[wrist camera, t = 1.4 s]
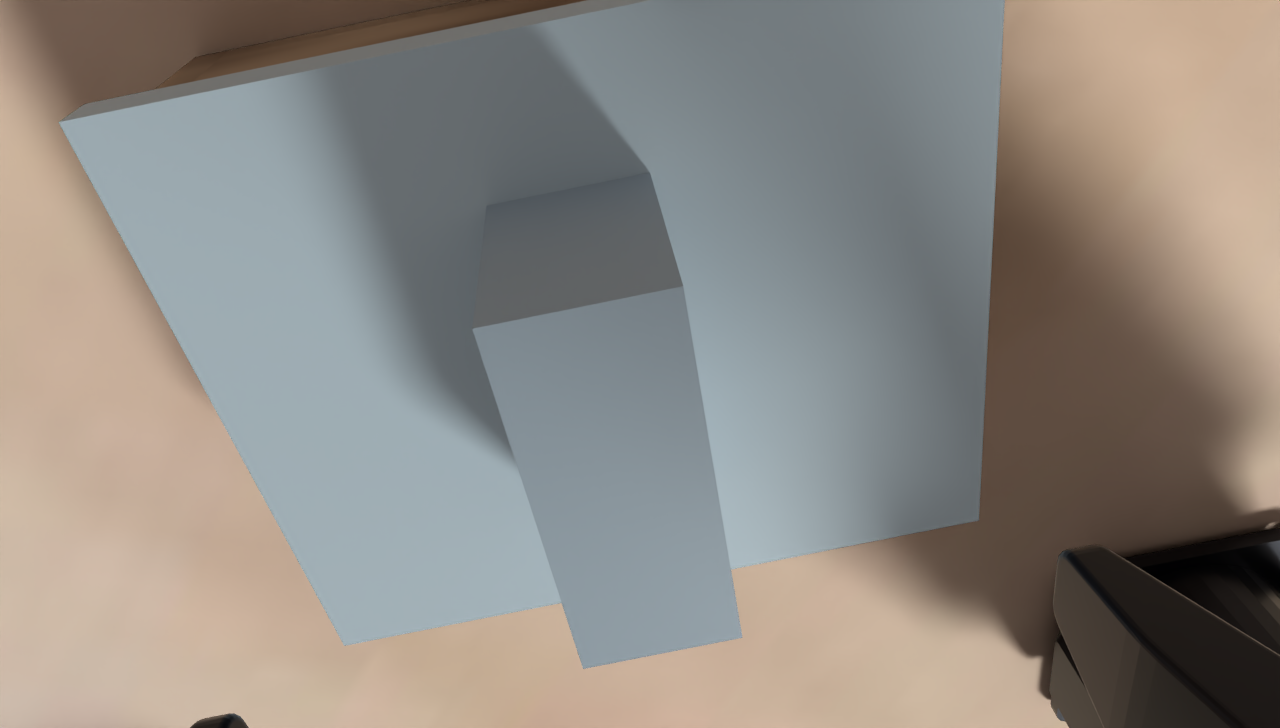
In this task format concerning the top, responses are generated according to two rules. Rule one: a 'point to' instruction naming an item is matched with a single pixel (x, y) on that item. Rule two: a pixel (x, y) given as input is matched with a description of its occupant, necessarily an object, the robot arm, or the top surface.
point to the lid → (583, 298)
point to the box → (354, 37)
